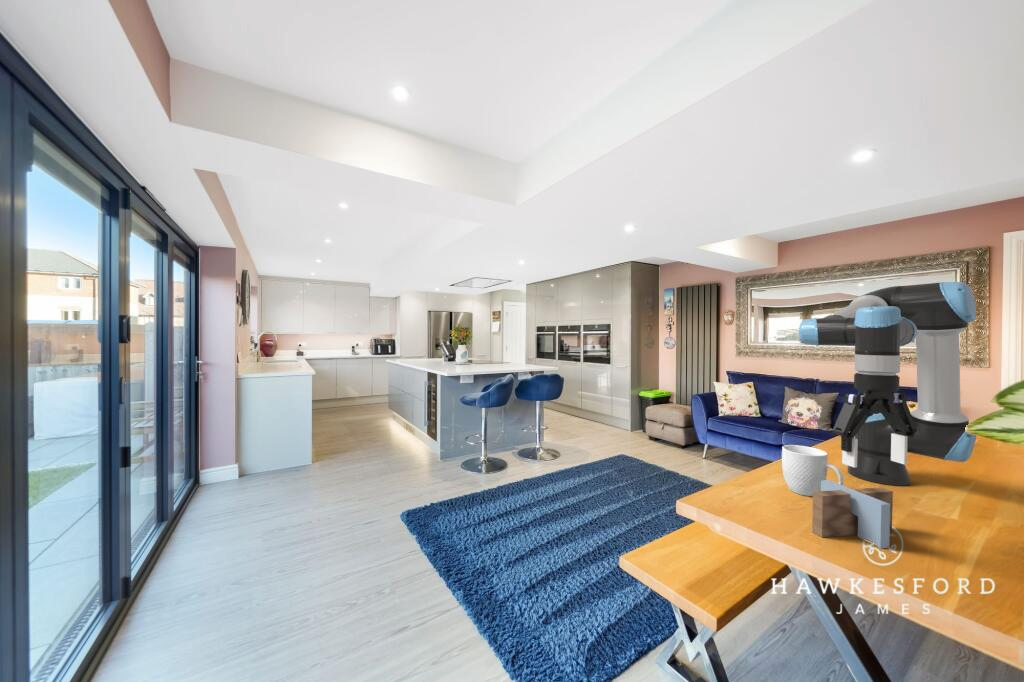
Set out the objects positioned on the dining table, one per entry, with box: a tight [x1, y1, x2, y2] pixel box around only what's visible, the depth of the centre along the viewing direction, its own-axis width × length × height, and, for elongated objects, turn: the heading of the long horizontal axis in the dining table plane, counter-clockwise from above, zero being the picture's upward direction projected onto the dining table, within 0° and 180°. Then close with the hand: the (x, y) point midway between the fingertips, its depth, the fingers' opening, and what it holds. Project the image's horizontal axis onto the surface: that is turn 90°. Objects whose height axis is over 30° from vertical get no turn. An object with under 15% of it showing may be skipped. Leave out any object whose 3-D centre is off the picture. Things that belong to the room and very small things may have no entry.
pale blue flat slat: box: [821, 479, 890, 549], centre depth 91 cm, size 14×2×10 cm, turn 8°
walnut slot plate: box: [811, 486, 894, 538], centre depth 91 cm, size 20×2×10 cm, turn 98°
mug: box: [781, 444, 844, 497], centre depth 112 cm, size 15×11×13 cm
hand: (874, 464), depth 86 cm, fingers open, 13 cm apart
